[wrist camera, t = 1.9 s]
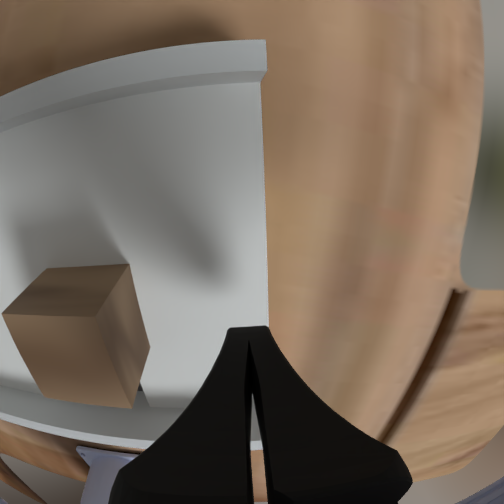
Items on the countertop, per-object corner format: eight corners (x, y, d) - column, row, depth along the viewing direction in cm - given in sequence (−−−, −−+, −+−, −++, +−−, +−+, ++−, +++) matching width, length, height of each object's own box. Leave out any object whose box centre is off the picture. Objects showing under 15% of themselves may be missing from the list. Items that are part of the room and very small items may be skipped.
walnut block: (150, 347, 14) (132, 408, 11) (74, 344, 14) (44, 397, 10) (129, 263, 13) (94, 316, 9) (46, 268, 12) (1, 313, 9)
